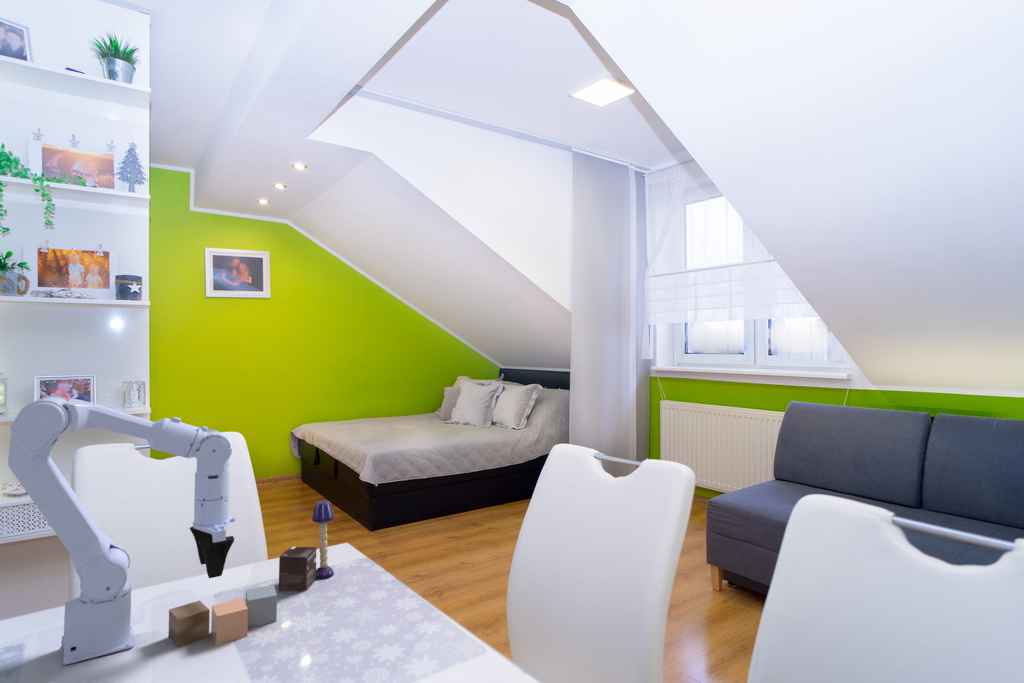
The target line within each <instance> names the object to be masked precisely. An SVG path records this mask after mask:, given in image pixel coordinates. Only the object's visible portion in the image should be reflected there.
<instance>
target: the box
mask: <svg viewBox="0 0 1024 683" xmlns="http://www.w3.org/2000/svg"><path fill="white" fill-rule="evenodd" d="M278 565H279V566H278V591H292V592H293V591H299V592H303V591H304V592H305V591H307V590H309V588H310V587H311V586H312V585H313V584H314V583H315V581H316V580H317V579H316V570H317V546H316V547H315V546H290V547H289V548H288V549H286V550H285V551H284V552H283V553H282V554H281V555H280V556H279V561H278Z"/></svg>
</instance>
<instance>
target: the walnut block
mask: <svg viewBox="0 0 1024 683" xmlns="http://www.w3.org/2000/svg"><path fill="white" fill-rule="evenodd" d="M207 638H208V639H209V638H210V608H209V607H208V606H206V605H205V604H204V603H203V602H202V600H197V601H193V602H189V603H186V604H183V605H179V606H177V607H176V606H175V607H173V608H170V609H168V639H169V640H170V639H171V640H172V641H173V642H172V641H171V642H172V643H173V644H174V646H175V645H176V646H175V647H176V648H177V649H179V648H182V647H184V646H188V645H191V644H193V643H196V642H199V641H202V640H205V639H207ZM181 646H182V647H181Z"/></svg>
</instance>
